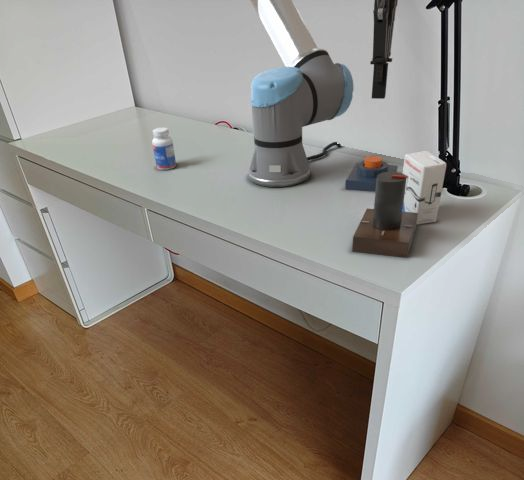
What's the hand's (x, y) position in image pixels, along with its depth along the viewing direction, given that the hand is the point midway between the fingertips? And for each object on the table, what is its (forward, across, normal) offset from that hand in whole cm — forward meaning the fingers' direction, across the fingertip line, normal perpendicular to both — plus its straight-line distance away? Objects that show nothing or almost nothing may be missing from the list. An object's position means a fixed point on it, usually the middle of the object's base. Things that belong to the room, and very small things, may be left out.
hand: (378, 97), depth 108 cm
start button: (+15, 0, 0) cm, 15 cm away
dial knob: (+15, -29, -8) cm, 34 cm away
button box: (+18, 0, 0) cm, 18 cm away
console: (+18, -29, -8) cm, 35 cm away
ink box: (+19, -17, -12) cm, 28 cm away
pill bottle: (+19, 0, +56) cm, 59 cm away
